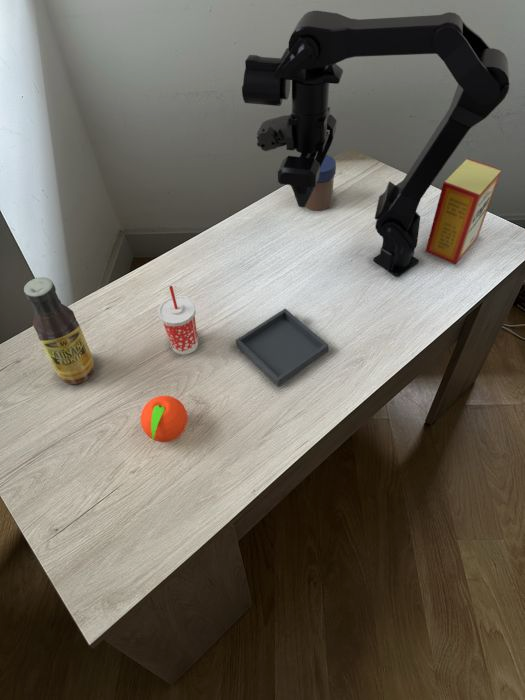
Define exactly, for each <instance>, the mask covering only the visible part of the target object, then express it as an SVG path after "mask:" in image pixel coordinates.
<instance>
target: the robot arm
mask: <svg viewBox="0 0 525 700" xmlns="http://www.w3.org/2000/svg"><path fill="white" fill-rule="evenodd" d="M410 55H411V56H412V55H413V56H414V55H437V56H438V57H439V58H440V59H441V60H442V61H443V63H444V65H445V66H446V67H447V69H448V70H449V73H451V75H452V77H453V78H454V80H455V82H456V83H457V86H456V89H455V92H454V94H453V97H452V101H451V103H450V106H449V108H448V110H447V111H446V113H445V115H443V117H442V119H441V121H440V122H439V124H438V125H437V127H436V128H435V130H434V132H433V134H431V136H430V138H429V139H428V141H427V142H426V144H425V146H424V147H423V148H422V150H421V152H420V154H419V155H418V156H417V158H416V159H415V161H414V163H413V164H412V165H411V167H410V169H409V171H408V172H407V173H406V175H405V177H404V178H403V180H401V181H399V182H398V183H397V184H395V183H393V182H392V181H388V183H387V186H386V189H385V190H384V192H383V193H382V194H380V195H379V196H378V201H377V205H376V209H375V216H374V219H375V220H376V221H375V230H376V232H377V234H378V235H379V236H380V237H382V244H381V248H380V253H379V254H377V255H375V257H373V258H372V261H373V263H375V264H376V265H378V266H379V267H380V268H382V269H384V271H386V272H388V273H390V274H391V275H392V276H393V277H396V278H399V277H401V276H402V275H404V274H405V273H406V272H408V271H409V270H411V269H412V268H414V267H415V266H417V265H418V264H419V262H420V260H419V259H418V258H417V257H415V256H414V255H415V251H416V248H417V246H418V240H419V232H420V226H421V225H420V223H421V215H420V214H419V213H418V212H417V210H418V207H419V205H420V202H421V199H422V198H423V197H424V195H425V194H426V192H427V191H428V190H429V188H430V187H431V185H432V184H433V182H434V181H435V180H436V178H437V176H438V175H439V174H440V173H441V171H442V169H443V168H444V167H445V165H446V164H447V163H448V161H449V160H450V158H451V157H452V155H453V154H454V152H455V151H456V150H457V148H458V147H459V146H460V144H461V143H462V141H463V140H464V139H465V137H466V135H467V134H468V132H469V131H470V130H471V129H472V128H473V127H475V126H476V125H477V124H479V123H481V122H482V121H484V120H486V119H487V118H488V117H489V115H490V114H491V113H492V112H494V110H495V109H497V108H498V106H499V105H500V104H501V103H503V101H504V100H505V99H506V97H507V95H508V93H509V91H510V71H509V62H508V57H507V56H506V55H505V53H504V52H503V51H501V50H500V49H498V48H494V47H490V46H489V45H488V44H487V43H486V42H485V40H484V39H483V38H482V37H481V36H480V35H479V34H478V33H476V32H475V31H474V30H473V29H472V28H470V27H469V26H468V25H466V22H465V21H463V19H462V17H461V16H460V15H459V14H457V13H456V12H450V11H449V12H448V11H447V12H445V13H441V14H433V15H432V14H431V15H430V14H429V15H415V16H399V17H397V16H395V17H381V18H363V19H359V18H350V17H348V16H346V15H344V14H343V15H342V14H340V13H337V12H331V11H325V10H324V11H323V10H311V11H307V12H306V13H304V14H303V15H302V17H301V18H300V19H299V20H298V22H297V24H296V26H295V28H294V30H293V31H292V33H291V35H290V38H289V40H288V47H287V48H285V50H284V52H283V54H282V56H281V57H269V56H268V57H267V56H260V55H257V54H249V55H248V56H247V58H246V59H245V61H244V64H245V65H244V66H245V69H244V73H243V81H242V83H243V84H242V86H241V95H242V100H243V102H244V103H245V104H253V105H263V106H272V107H273V106H274V107H281V106H282V103H283V100H284V101H286V100H288V99H289V97H290V93H291V113H290V114H287V115H281V116H278V117H273V118H269V119H266V120H265V121H262V123H261V125H260V127H259V129H258V130H257V133H256V134H257V136H256V139H257V143H256V146H257V147H259V148H260V149H261V150H262V151H263V152H269V151H272V150H276V149H278V148H281V147H286V149H285V150H286V151H294V150H296V152H297V153H300V155H299V156H295V155H294V156H293V155H287V156H286V157H285V158H284V159H283V160H282V162H281V163H280V166H279V167H278V170H277V182H278V183H279V184H280V185H285V186H290V188H291V190H292V192H293V195H294V198H295V200H296V203H297V206H298V207H299V208H306V207H305V205H306V203H307V201H308V200H309V198H310V196H311V194H312V192H313V190H314V188H315V186H316V184H317V182H318V179H319V173H320V167H321V165H322V163H323V161H324V158H325V156H326V155H328V152H329V150H330V147H331V146H332V143H333V140H334V137H335V134H336V131H337V121H338V120H337V118H335V117H334V116H333V114H331V107H330V106H329V93H330V84H335V85H339V83H340V82H341V79H342V76H343V73H344V70H343V69H342V68H341V66H340V65H338V63H340V62H342V61H345V60H347V59H352V58H361V57H362V58H363V57H386V56H388V57H390V56H410Z"/></svg>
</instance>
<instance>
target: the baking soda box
mask: <svg viewBox="0 0 525 700" xmlns="http://www.w3.org/2000/svg"><path fill="white" fill-rule="evenodd" d="M502 170H503V169H500V168H498V167H494V166H492V165H489V164H485V163H483V162H479V161H477V160H474V159H470V158H466V159H465V160H464V161H463V162H462V163H461V164H460V165H459V166H458V167H457V168H456V169H455V170H454V172H452V174H450V175H449V177H448V178H447V179H445V181H443V183H442V187H441V189H440V190H441V191H440V195H439V198H438V202H437V206H436V209H435V212H434V213H435V214H434V217H433V221H432V225H431V229H430V232H429V236H428V240H427V244H426V246H425V247H426V248H425V252H426V253H428V254H430V255H432V256H435V257H438V258H440V259H441V260H444V261H447V262H449V263H451V264H453V265H457V264H458V263H459V262H460V260H461V259H462V258H463V257H464V256H465V254H466V253H467V252H468V251H469V250H470V248H471V247H472V246H473V245H474V244H475V243H476V241H477V240H478V238H479V235H480V231H481V230H482V227H483V223H484V221H485V218H486V215H487V213H488V210H489V207H490V204H491V202H492V198H493V196H494V193H495V191H496V187H497V185H498V182H499V179H500V178H501V177H500V176H501V174H502Z"/></svg>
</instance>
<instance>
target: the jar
mask: <svg viewBox="0 0 525 700" xmlns="http://www.w3.org/2000/svg"><path fill="white" fill-rule="evenodd" d="M334 183H335V176H334V177H333V178H332V179H330V180H328V181H325V182H317V184H316V186H315V188H314V190H313V192H312V194H311V196H310V198H309V200H308V201H307V203H306V205H305V207H304V208H306V209H308V210H311V211H315V212H320V211H325V210H327V209H329V208H330V207H331V206H332V204H333V196H334V185H335V184H334Z"/></svg>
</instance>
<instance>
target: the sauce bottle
mask: <svg viewBox="0 0 525 700" xmlns="http://www.w3.org/2000/svg"><path fill="white" fill-rule="evenodd" d="M56 290H57V289H56V286H55V284H54V282H53V281H52V279H51V278H49V277H45V276H40V277H39V276H38V277H35V278H33V279H30V280H29V281H28V282H27V283H25V285H24V287H23V292H24V295H25V298H26V299H27V301H29V302H30V304H31V305H32V308H33V311H34V316H33V320H32V326H33V329H34V330H35V332H36V334H37V337H38V340H39V342H40V344H41V345H42V348H43V349H44V352H45V353H46V355H47V357H48V359H49V361H50V363H51V365H52V367H53V369H54V371H55V374H56V375H57V376H58V377H59V379H60V380H61V381H62V382H63V383H65V384H68V385H79V384H82V383H84V382H86V381H87V380H88V379H90V378H91V377H92V376H93V374H94V373H95V361H94V357H93V354H92V353H91V351H90V348H89V347H90V346H89V345H88V342H87V339H86V337H85V335H84V333H83V330H82V328H81V326H80V324H79V322H78V320H77V319H76V315H75V312H74V310H73V309H71V308H69V307H68V306H67V305H65V304H63V303H62V301H61V300H60V298H59V296H58V294H57V292H56Z"/></svg>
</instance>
